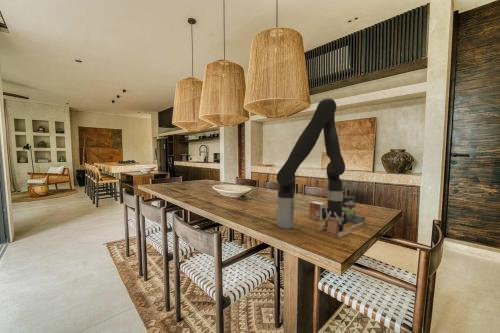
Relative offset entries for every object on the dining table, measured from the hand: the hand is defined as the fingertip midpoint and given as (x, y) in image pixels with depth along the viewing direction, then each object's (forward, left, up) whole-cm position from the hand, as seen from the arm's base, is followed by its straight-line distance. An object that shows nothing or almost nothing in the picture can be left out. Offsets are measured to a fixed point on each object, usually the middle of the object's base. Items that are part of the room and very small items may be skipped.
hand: (334, 229), depth 113 cm
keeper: (0, 0, -1) cm, 1 cm away
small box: (-19, +13, -2) cm, 23 cm away
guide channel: (0, +8, -1) cm, 8 cm away
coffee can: (-8, +30, -2) cm, 31 cm away
